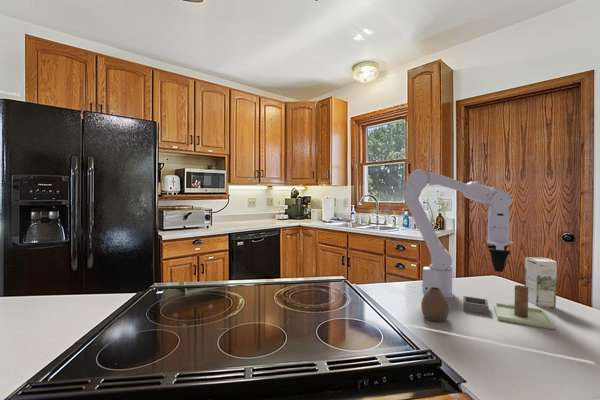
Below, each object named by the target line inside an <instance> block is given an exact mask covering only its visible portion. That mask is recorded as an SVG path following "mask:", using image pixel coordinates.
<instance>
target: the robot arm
mask: <svg viewBox="0 0 600 400" xmlns="http://www.w3.org/2000/svg"><path fill="white" fill-rule="evenodd" d="M427 185H428V186H438V185H439V186H441V187H445V188H448V189H450V190H451V189H452V190H453V191H454V190H455V191H457V192H461V194H462V195H463V197H464V198H467V199H469V200H471V201H472V200H473V201H475V202H477V203H480V204H483V205H484V204H485V205H486V204H487V205H488V213H487V239H486V243H487V244H486V246H487V249H488V252H489V253H490V258H491V264H492V267H493V270H494V272H497V273H498V272H499V273H503V272H504V270H505V266H506V262H507V259H508V257H509V255H510V254H511V250H508V249H507V248H508V245H514V241H512V240H511V241H510V213H509V211H510V206H511V205H512V203H513V199H512V197H511V195H510V194H509V192H507V191H505V190H499V189H497V186H491V187H490V186H487V185H484V184H482V183H481V181H479V180H478V181H477V180H476V181H469V182H467V183H466V182H463V181H460V180H457V179H454V178H451V177H450V176H449V177H448V176H446V175H442V174H441V173H438V172H432V171H428V170H426V171H425V170H423V169H416V170H413V171H411V172H410V174H409V176H408V178H406V182H405V188H404V189H405V190H404V197H403V201H404V203H405V204H406V206H407V208H408V210H409V212H410V215H411V216H412V218H413V221H414V222H415V225H416V227H417V228H418V231H419V232H420V234H421V237H422V238H423V240H424V242H425V244H426V246H427V249H428V251H429V254H430V258H431V259H430V262H431V263H430V264H429V266H423V268H422V285H421V287H422V294H424V295H425V294H426V293H427V292H428V291H429V290H430V288H431V287H437V288H439V289H440V291H441V293H442V294H443V295H444V297H445V298H446V297H447V298H454V293H455V292H454V290H453V266H452V263H453V259H452V256H451V254H450V251H449V250H448V249H446V248H445V247H444V246H443V243H442V242H441V241H440V239H439V237H438V235H437V233H436V231H435V229H434V226H433V224H432V223H431V221H430V219H429V217H428V215H427V213H426V211H425V208H424V207H423V206H422V203H421V201H420V199H419V198H420V196H421V194H422V191H423V190H424V189H425V187H426V186H427Z"/></svg>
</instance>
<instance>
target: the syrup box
mask: <svg viewBox="0 0 600 400" xmlns="http://www.w3.org/2000/svg"><path fill="white" fill-rule="evenodd" d="M557 268H558V262H557V261H556V260H554V259H550V258H547V257H528V256H527V257H524V286H525V287H528V303H530V304H532V305H533V306H536V307H549V308H553V309H554V308H555V309H556V300H557V274H558V271H557V270H558V269H557Z"/></svg>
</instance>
